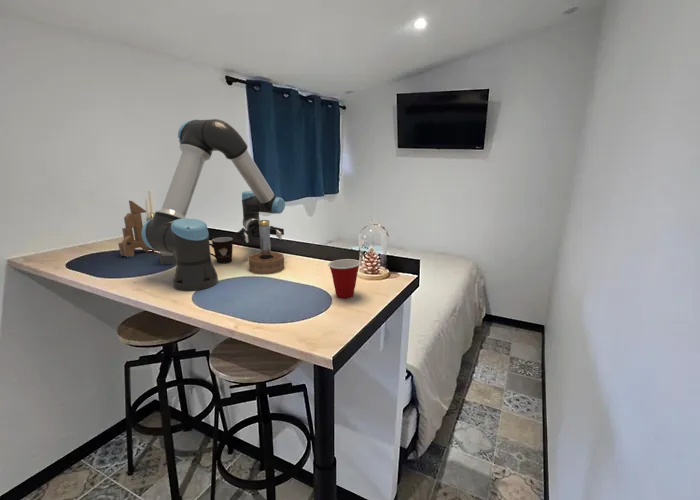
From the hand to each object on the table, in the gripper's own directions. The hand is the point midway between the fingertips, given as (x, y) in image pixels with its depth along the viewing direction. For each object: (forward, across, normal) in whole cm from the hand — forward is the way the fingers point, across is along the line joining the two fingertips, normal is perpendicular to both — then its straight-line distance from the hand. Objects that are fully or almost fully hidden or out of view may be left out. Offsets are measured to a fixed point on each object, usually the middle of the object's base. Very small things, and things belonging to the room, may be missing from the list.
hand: (264, 237), depth 150 cm
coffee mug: (-16, +17, -13) cm, 26 cm away
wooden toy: (-43, +50, -13) cm, 67 cm away
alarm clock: (-26, +35, -13) cm, 46 cm away
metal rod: (+2, 0, -13) cm, 13 cm away
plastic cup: (+41, -18, -13) cm, 47 cm away
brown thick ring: (+2, 0, -13) cm, 13 cm away
